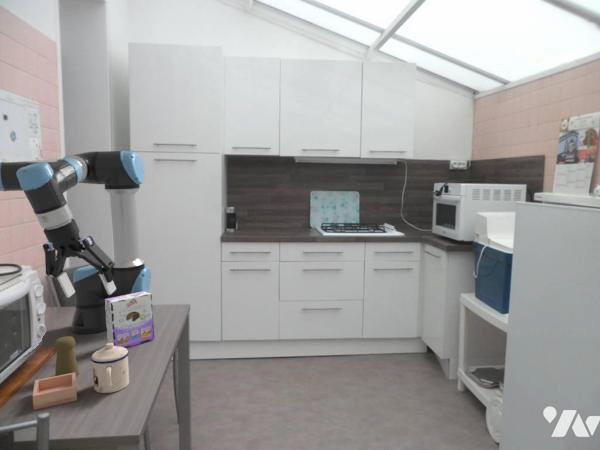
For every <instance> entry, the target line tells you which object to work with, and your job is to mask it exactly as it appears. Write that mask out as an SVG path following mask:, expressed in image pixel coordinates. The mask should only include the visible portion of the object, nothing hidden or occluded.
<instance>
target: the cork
mask: <svg viewBox="0 0 600 450" xmlns="http://www.w3.org/2000/svg"><path fill="white" fill-rule="evenodd" d="M53 346H54V350H55V351H56V358H55V359H56V360H55V372H54V373H55V374H54V376H59V375H64V374H69V373H74V372H75V375H76V377H78V376H79V375H80V370H79V366H78V363H77V358H76V357H77V356H76V353H75V349H74V348H75V346H76V340H75V338H74V336H70V335H68V336H62V337H59V338H57V339H55V341H54V344H53Z"/></svg>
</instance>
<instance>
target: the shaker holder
mask: <svg viewBox="0 0 600 450" xmlns="http://www.w3.org/2000/svg"><path fill="white" fill-rule="evenodd" d="M76 377H77V376H76V375H75V372H74V373H69V374H64V375H59V376H55V375H54V376H49V377H45V378H40V379H36V380H34V385H33V392H32V404H33V411H35V410H39V409H40V410H41V409H43V408H49V407H53V406H57V405H61V404H65V403H71V402H74V401H78V400H77V399H78V397H77V396H78V395H77V393H78V392H77V378H76Z"/></svg>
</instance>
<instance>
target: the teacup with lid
mask: <svg viewBox="0 0 600 450" xmlns="http://www.w3.org/2000/svg"><path fill="white" fill-rule="evenodd" d="M90 360H91V362H92V375H93V376H92V377H93V389H94V391H95V392H97V393H99V394H112V393H116V392H118V391H121V390H123V389H125V388H126V387H127V386H128V385H129V384H130V372H129V371H130V370H129V351H128V348H124V347H118V346H114V344H113V343H106V344H105V346H104V347H102V348H100V349H98V350H96V351H95V352H94V353H93V354H92V355H91V358H90Z"/></svg>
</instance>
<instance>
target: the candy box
mask: <svg viewBox="0 0 600 450" xmlns="http://www.w3.org/2000/svg"><path fill="white" fill-rule="evenodd" d="M105 312H106V327H107V330H106V337H107V339H106V340H107V341H106V342H107V343H113V344H114V346H118V347H124V348H126V349H128V348H130V347H134V346H137V345H140V344H143V343H146V342H150V341H153V340H155V324H154V312H153V295H152V293H150V292H149V291H148V292H146V291H142V292H137V293H132V294H127V295H123V296H118V297H113V298H108V299H105ZM107 343H106V344H107Z"/></svg>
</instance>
